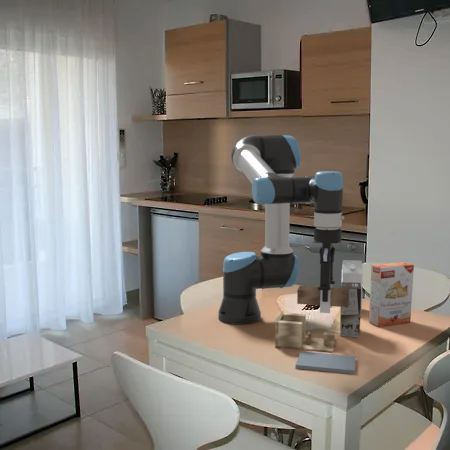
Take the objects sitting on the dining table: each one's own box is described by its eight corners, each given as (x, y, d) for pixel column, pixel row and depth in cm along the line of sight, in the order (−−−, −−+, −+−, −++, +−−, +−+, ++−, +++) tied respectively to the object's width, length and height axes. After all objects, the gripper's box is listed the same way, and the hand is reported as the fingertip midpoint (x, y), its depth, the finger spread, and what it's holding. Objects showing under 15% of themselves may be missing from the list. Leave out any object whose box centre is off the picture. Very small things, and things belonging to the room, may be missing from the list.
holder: (274, 347, 182) (275, 322, 180) (280, 336, 192) (280, 312, 191) (332, 352, 177) (333, 326, 176) (335, 340, 187) (335, 316, 186)
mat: (295, 368, 165) (295, 364, 165) (300, 354, 175) (300, 351, 175) (354, 374, 161) (354, 370, 161) (355, 359, 171) (355, 356, 171)
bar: (297, 303, 165) (297, 289, 165) (299, 299, 170) (299, 285, 169) (348, 307, 162) (348, 293, 161) (349, 302, 166) (349, 288, 166)
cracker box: (379, 328, 200) (381, 267, 197) (368, 323, 206) (370, 264, 203) (411, 323, 206) (414, 264, 203) (400, 318, 211) (402, 260, 208)
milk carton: (340, 307, 225) (342, 258, 222) (359, 308, 224) (361, 259, 221) (341, 312, 218) (343, 262, 215) (361, 313, 217) (363, 262, 214)
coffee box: (360, 337, 191) (361, 288, 188) (339, 336, 192) (341, 287, 189) (359, 328, 199) (361, 282, 197) (340, 327, 201) (341, 281, 198)
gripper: (339, 233, 153) (337, 319, 156) (343, 223, 170) (341, 302, 174) (310, 231, 155) (308, 317, 158) (317, 222, 172) (316, 300, 175)
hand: (325, 309), depth 166 cm, fingers closed on bar, 5 cm apart
